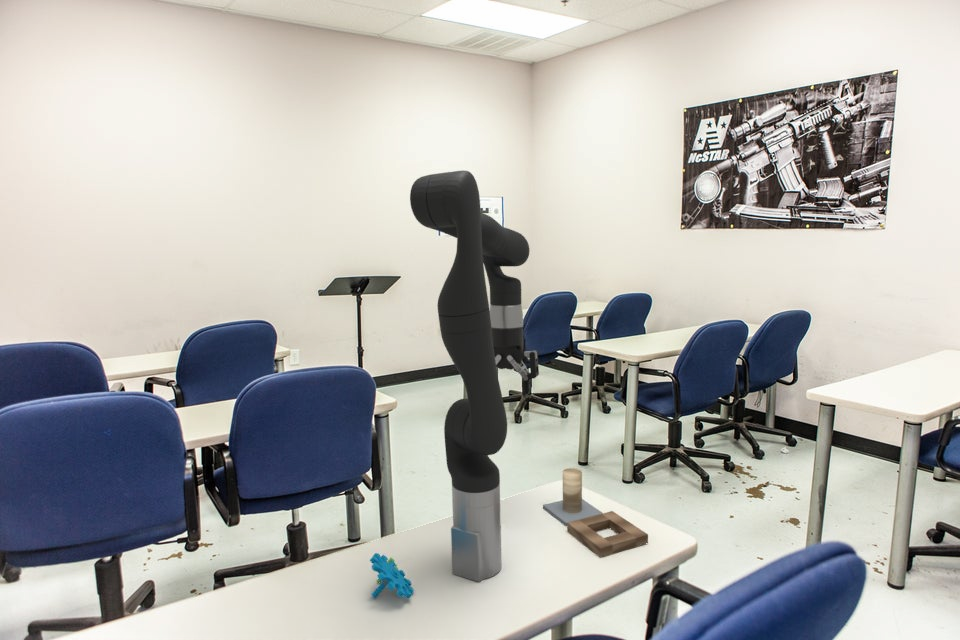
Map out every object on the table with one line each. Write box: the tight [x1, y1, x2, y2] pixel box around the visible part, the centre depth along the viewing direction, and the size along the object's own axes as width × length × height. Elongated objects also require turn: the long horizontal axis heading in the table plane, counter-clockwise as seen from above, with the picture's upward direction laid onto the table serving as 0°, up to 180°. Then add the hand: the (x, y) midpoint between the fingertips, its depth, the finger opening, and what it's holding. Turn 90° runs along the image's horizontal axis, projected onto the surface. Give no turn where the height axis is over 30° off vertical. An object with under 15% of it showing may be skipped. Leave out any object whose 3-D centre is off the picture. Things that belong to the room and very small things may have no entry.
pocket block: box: [566, 510, 649, 558], centre depth 127 cm, size 12×12×2 cm
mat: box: [542, 498, 604, 527], centre depth 139 cm, size 10×10×1 cm
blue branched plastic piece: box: [369, 552, 415, 599], centre depth 109 cm, size 11×6×10 cm
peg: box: [562, 467, 583, 513], centre depth 138 cm, size 4×4×9 cm
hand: (507, 394), depth 137 cm, fingers open, 8 cm apart
